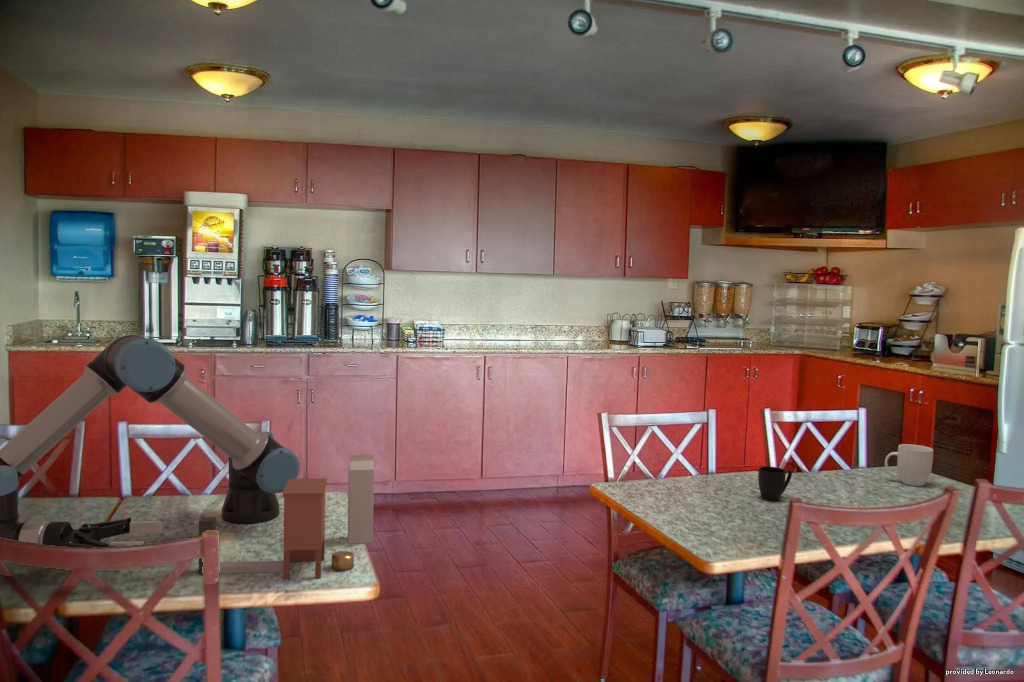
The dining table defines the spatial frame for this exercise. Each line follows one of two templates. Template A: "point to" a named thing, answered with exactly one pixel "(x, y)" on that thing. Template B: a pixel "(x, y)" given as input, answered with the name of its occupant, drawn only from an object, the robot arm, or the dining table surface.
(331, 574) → the dining table surface
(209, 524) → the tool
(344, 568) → the token
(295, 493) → the cabinet
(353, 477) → the milk
